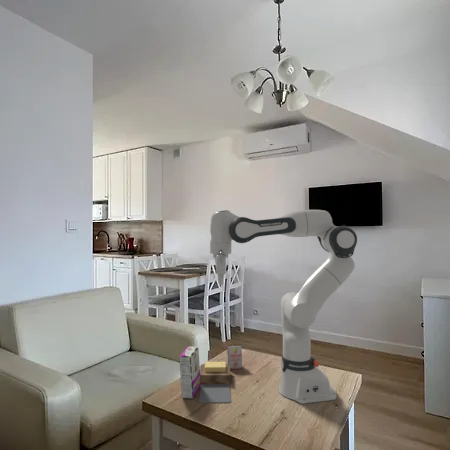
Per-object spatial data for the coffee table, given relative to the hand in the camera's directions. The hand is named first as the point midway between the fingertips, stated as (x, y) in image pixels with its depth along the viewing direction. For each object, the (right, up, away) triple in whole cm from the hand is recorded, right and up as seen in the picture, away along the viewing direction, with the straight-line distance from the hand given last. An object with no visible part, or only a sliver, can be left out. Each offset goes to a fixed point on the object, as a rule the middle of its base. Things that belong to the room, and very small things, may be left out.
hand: (220, 282), depth 135 cm
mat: (-2, -43, -5) cm, 44 cm away
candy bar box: (-12, -43, -4) cm, 45 cm away
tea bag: (+6, -44, +20) cm, 49 cm away
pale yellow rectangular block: (-2, -40, +9) cm, 41 cm away
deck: (-2, -44, +8) cm, 44 cm away
